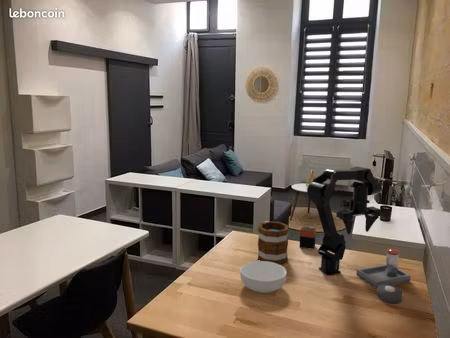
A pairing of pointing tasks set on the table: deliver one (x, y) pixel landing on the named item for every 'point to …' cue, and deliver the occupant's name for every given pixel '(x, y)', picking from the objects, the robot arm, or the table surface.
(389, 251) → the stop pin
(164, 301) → the table surface
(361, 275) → the tray
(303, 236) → the battery
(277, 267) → the cereal bowl
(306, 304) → the table surface
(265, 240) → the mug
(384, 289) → the trolley wheel
